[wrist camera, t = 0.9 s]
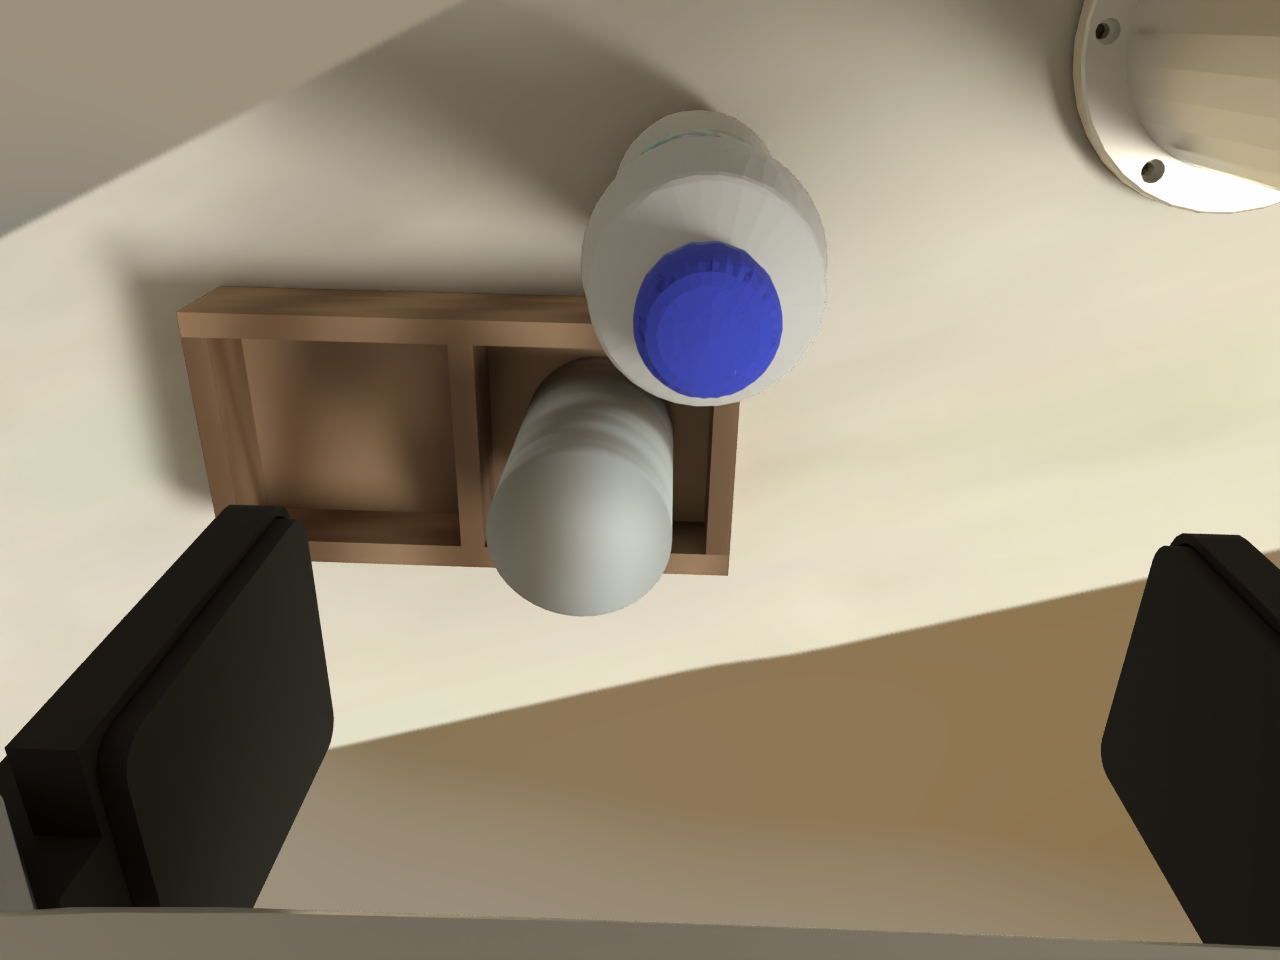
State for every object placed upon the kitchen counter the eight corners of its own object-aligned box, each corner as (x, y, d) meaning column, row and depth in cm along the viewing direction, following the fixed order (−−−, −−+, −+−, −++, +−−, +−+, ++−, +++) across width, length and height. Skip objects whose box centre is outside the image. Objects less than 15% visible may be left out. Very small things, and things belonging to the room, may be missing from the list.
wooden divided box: (738, 300, 41) (758, 391, 31) (724, 531, 45) (737, 674, 35) (220, 286, 41) (74, 371, 31) (259, 515, 46) (143, 653, 36)
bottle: (733, 298, 41) (776, 522, 23) (585, 230, 40) (508, 407, 22) (810, 144, 38) (930, 259, 20) (654, 68, 37) (631, 115, 19)
